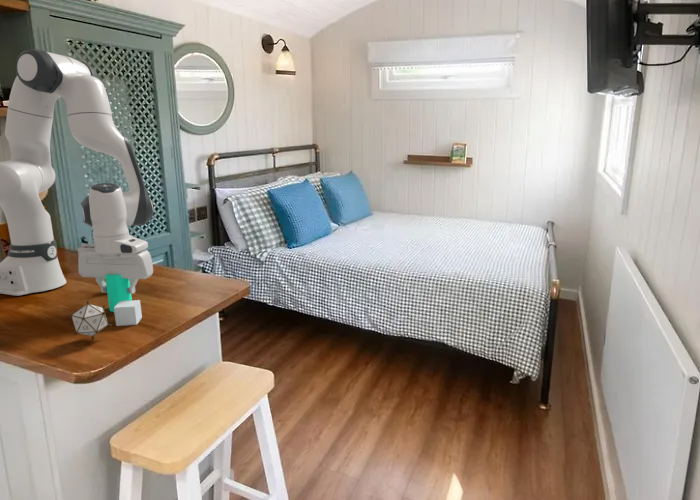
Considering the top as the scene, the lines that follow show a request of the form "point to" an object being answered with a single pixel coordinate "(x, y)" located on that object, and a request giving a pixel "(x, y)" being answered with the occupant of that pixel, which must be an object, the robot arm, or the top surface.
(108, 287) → the candle
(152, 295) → the top surface
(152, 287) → the top surface
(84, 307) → the game die
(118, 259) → the robot arm
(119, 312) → the grey block
